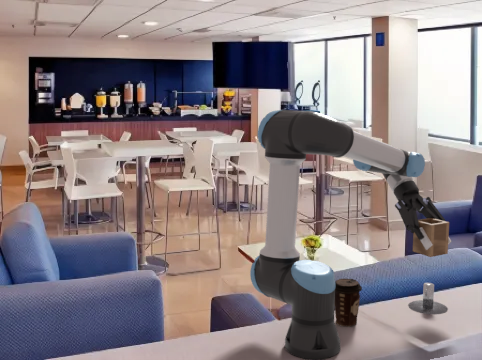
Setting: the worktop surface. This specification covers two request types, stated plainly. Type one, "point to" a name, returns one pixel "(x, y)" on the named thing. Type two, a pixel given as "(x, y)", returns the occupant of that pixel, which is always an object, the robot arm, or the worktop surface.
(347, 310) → the coffee cup
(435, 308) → the post stand
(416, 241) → the sleeve
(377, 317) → the worktop surface
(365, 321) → the worktop surface
